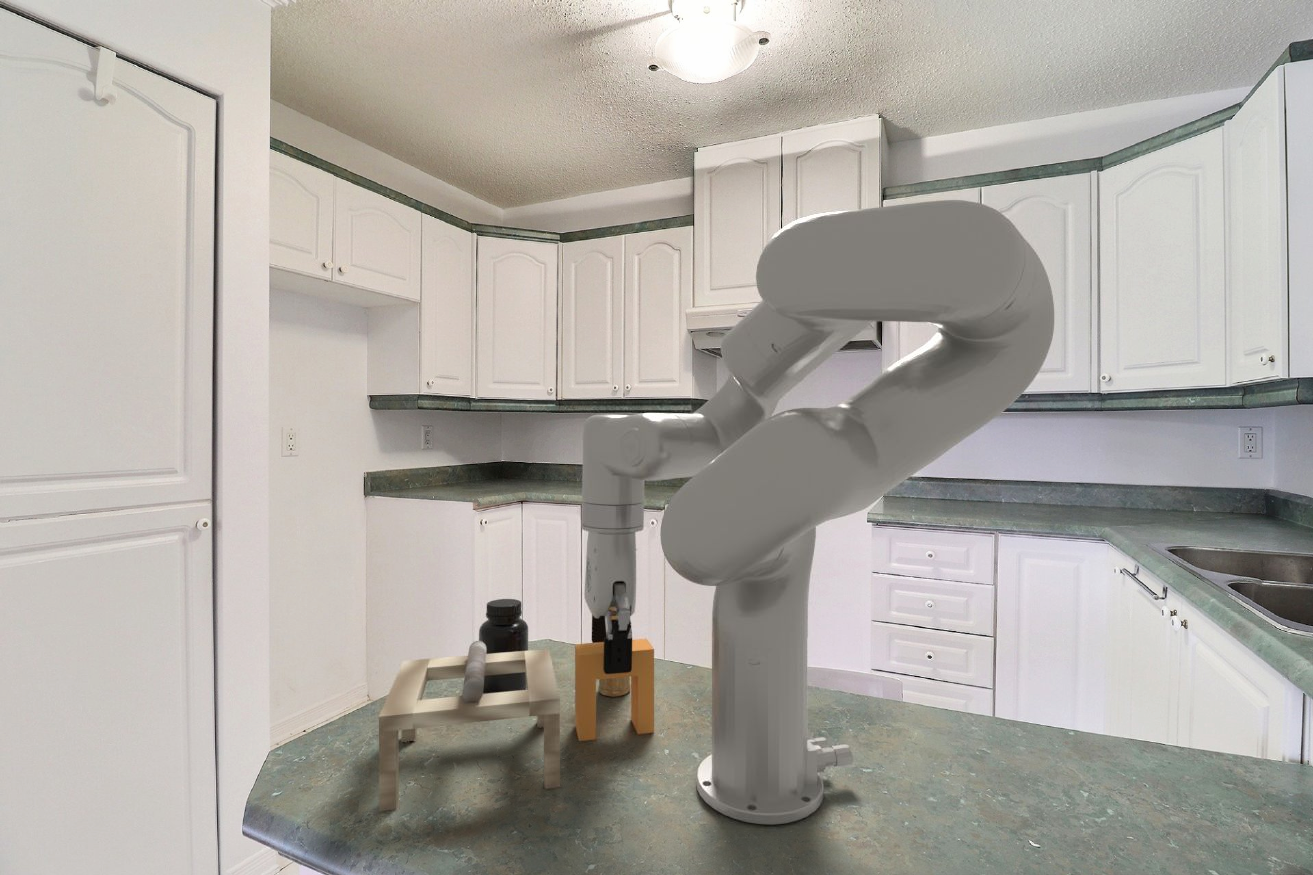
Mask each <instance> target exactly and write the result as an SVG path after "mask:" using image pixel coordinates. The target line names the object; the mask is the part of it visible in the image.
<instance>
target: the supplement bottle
mask: <svg viewBox="0 0 1313 875" xmlns="http://www.w3.org/2000/svg"><path fill="white" fill-rule="evenodd" d="M522 615H523V612H522V601H521V600H518V599H515V598H500V599H499V598H498V599H494V600H490V601H488V602H487V603H486V613H485V617H486V618H487V620H486V621H484V622H483V623H482V624H481V626H480V627H479V629H478V641H482V642H483V643H485V645H486V654H493V653H505V652H517V651H529V626H528V623H527V622H526V621H525V620H524V619H523V618H521V617H522ZM525 688H527V684H526V674H525V672H520V673H509V674H498V675H487V676H484V687H483V694H488V693H499V692H509V691H519V690H525Z"/></svg>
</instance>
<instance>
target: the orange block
mask: <svg viewBox="0 0 1313 875" xmlns="http://www.w3.org/2000/svg"><path fill="white" fill-rule="evenodd" d="M603 662H604V642H597V643H592V642H588V643H587V642H586V643H576V644H574V714H575V715H574V721H575V722H574V726H575V730H576V734H577V738H578V742H582V741H583V742H585V741H592V740H597V680H598V681H599V679H608V678H619V677H629V676H630V720H631V722H632V724H633V726H634V729H635V731H636V734H637V735H644V734H645V735H646V734H650V733H651V734H652V733H653V734H654V733H655V648H654V647H653V645H652V643H650V641H649V639H648V638H635V639H632V670H631V672H628V673H616V674H605V673H604V670H603Z"/></svg>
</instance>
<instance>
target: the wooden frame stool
mask: <svg viewBox="0 0 1313 875" xmlns="http://www.w3.org/2000/svg"><path fill="white" fill-rule="evenodd" d="M467 654H468V655H457V656H445V657H434V658H424V659H423V658H422V659H411V660H410V659H407V660H402V662H401V665H400V668H399V669H398V672H397V674H396V676H395V679H394V682H393V684H392V686H391V688H390V689H389V690H390V691H389V693H388V695H387V697H386V699H385V702H384V703H383V706H382V709H381V711H380V713H379V715H378V809H379V810H378V811H379V812H385V811H391V810H392V811H393V810H397V808H398V804H399V800H400V799H399V798H400V797H399V796H400V795H399V794H400V793H399V792H400V791H399V790H400V789H399V787H400V786H399V785H400V784H399V783H400V781H399V778H400V777H399V774H400V773H399V767H400V766H399V731H401V743H402V742H405V743H410V742H409V741H414V740H417V737H418V729H425V728H432V727H443V726H452V725H463V724H472V723H481V722H492V721H499V720H500V721H501V720H508V719H519V718H527V717H528V718H529V717H536V725H537V726H536V727H537V729H538V728H543V783H544V784H543V785H544V790H549V789H556V788H560V787H561V772H560V771H561V768H560V767H561V755H560V754H561V751H560V750H561V749H560V747H561V742H560V740H561V736H560V735H561V724H560V722H561V720H560V718H561V715H560V713H561V712H560V710H561V707H560V706H561V702H560V700H561V698H560V694H559V689H558V684H557V679H556V675H555V671H554V664H553V661H552V656H551V651H550V649H549V648H545V649H534V650H533V649H532V650H530V649H528V651H517V652H505V653H493V654H486V645H485V643H483V642H482V641H479V640H475V641H473V642H472V643H471V644H470V645H469V649H468V653H467ZM520 672H525V674H526V684H527V686H526V689H523V690H519V691H509V692H499V693H488V694H484V693H483V687H484V676H487V675H498V674H509V673H520ZM461 678H462V679H463V678H464V679H463V686H462V692H461V695H457V696H448V697H439V698H428V699H427V698H426V699H423V696H424V693H425V688H426V686H427V683H428V681H429V682H431V681H442V680H451V679H461ZM407 741H408V742H407ZM414 742H415V741H414Z"/></svg>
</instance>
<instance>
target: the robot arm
mask: <svg viewBox="0 0 1313 875" xmlns="http://www.w3.org/2000/svg"><path fill="white" fill-rule="evenodd" d="M757 262H758V263H757V264H756V265H757V266H756V272H755V274H756V275H755V282H756V288H757V291H758V294H759V296H760V298H761V299H762V300H760V301H759V302H758V303H757V304H756V305H755V306H754V307H753V308H752V309H751V310H749V312H748V313H747V314H746V315H745V316H744V317H743V318H742V319H741V320H740V321H739V322H738V323H737V324H735V325H734V326H733V327H732V328H731V329H730V330H729V331H728V332H727V333H725V334H724V336H723V338H722V340H721V344H720V355H721V358H722V361H723V363H724V365H725V368H726V369H727V371H728V373H729V375H728V376H727V379H726V381H725V382H724V384H723V385H722V387H721V388H720V389H719V390H718V391H717V392H716V393H715V394H714V395H713V396H712V397H711V398H710V399H708V400H707V401H706V402H705V403H703V405H701V407H699V408H698V409H696V411H694V412H693V413H669V412H668V413H667V412H661V413H660V412H644V413H637V414H632V415H631V414H630V415H629V414H628V415H627V414H593V415H591V416H589V417H587V418H586V420H585V421H584V424H583V427H582V428H583V430H582V431H583V433H582V475H581V476H582V479H581V480H582V481H581V485H582V486H581V488H582V489H581V529H582V531H586V532H587V533H588V534H587V541H586V556H585V557H586V559H585V560H586V561H585V578H584V600H585V603H586V605H587V607H588V610H589V611H590V613H591V643H597V642H604V662H603V670H604V673H605V674H616V673H628V672H631V670H632V640H633V630H632V621H631V616H633V614H635V613H636V612H635V611H636V604H637V603H636V601H637V600H636V599H637V547H636V546H637V544H636V542H637V541H636V540H637V538H636V533H637V532H641V531H644V529H645V528H644V526H645V523H644V521H645V519H644V518H645V481H646V482H647V481H648V482H655V481H656V482H657V481H664V480H673V479H681V478H682V479H683V478H690V479H689V480H688V481H687V482H685V483H684V484H683V485H682V486H681V487H680V488H679V489H678V490H677V492H675V494H674V495H673V496H672V497H671V499H670V501H669V503H668V504H667V505H666V508H665V510H664V512H663V516H662V519H661V524H660V532H659V533H660V543H661V544H660V545H661V549H662V553H663V555H664V556H665V560H666V561H667V563H668V564H669V566H670V567H671V568H672V569H673V570H674V571H675V572H676V573H677V574H678V575H679V576H681V577H682V578H684V579H685V580H687V581H688V582H691V583H694V584H696V585H700V586H706V587H715V590H714V595H713V601H712V610H711V754H710V755H708V756H707V757H705V758H704V759H703V760H702V761H701V762H700V764H699V765H698V767H697V769H696V778H695V779H696V780H695V781H696V782H695V783H696V789H697V791H698V794H699V796H700V797H701V798H702V800H703V801H704V802H705V803H706V804H707V805H709V806H710V807H711V808H712V809H714V810H715V811H717V812H719V813H721V814H722V815H724V816H727V817H728V818H732V819H734V820H738V821H741V822H745V823H749V824H757V825H783V824H790V823H794V822H798V821H801V820H802V819H804V818H808V817H809V816H810V815H811V814H813V813H814V812H815V811H817V809H818V808H819V807H820V806H821V804H822V802H823V800H824V780H823V779H822V776H821V774H820V773H823V772H825V770H826V768H830V767H834V768H836V767H842V766H849V765H852V764H853V760H854V759H853V758H854V757H853V754H852V753H853V752H852V750H851V747H850V746H849V745H848V744H846V743H844V744H837V745H836V744H835V745H829V743H828V740H827V738H826V737H825V736H821V737H813V738H810V739H809V738H808V637H809V636H808V635H809V634H808V633H809V630H808V629H809V626H808V625H809V624H808V623H809V622H808V620H809V592H810V582H811V581H810V580H811V573H812V568H813V560H814V553H815V548H816V538H817V527H818V526H820V525H821V524H823V523H825V522H828V521H831V520H835V519H839V518H843V517H846V516H850V515H853V514H856V513H858V512H861V511H864V510H865V509H867V508H869V507H870V506H872V505H873V504H874V503H876V502H877V501H878V500H879V499H881V498H882V497H884V495H886V494H888V492H890V491H892V490H893V489H894V488H895V487H897V486H898V485H900V484H902V483H903V482H904V481H906V480H907V479H909V478H910V477H912V476H914V475H915V474H917V473H918V472H919V471H921V470H922V469H924V468H925V467H927V466H928V465H930V464H931V463H933V462H934V461H936V460H938V459H939V458H940V457H941V456H943V455H944V454H946V453H947V452H949V450H951V449H952V448H954V447H955V446H957V445H958V444H959V443H961V442H963V441H964V440H966V438H968V437H969V436H971V435H973V434H975V433H976V432H978V431H979V430H980V429H982V428H983V427H984V426H986V425H988V423H990V422H991V421H993V420H994V419H995V418H996V417H997V418H998V416H999V415H1001V414H1002V413H1003V412H1004V411H1006V410H1007V409H1008V408H1009V407H1010V406H1011V405H1013V403H1014V402H1016V401H1017V400H1018V398H1019V397H1021V396H1022V394H1023V393H1024V392H1025V391H1026V390H1027V389H1028V388H1029V386H1030V385H1031V384H1032V382H1033V381H1035V380H1034V379H1035V378H1036V377H1037V375H1038V374H1039V372H1040V371H1041V368H1042V366H1043V365H1044V363H1045V361H1046V358H1047V356H1048V354H1049V351H1050V348H1051V345H1052V342H1053V337H1054V329H1055V305H1054V304H1055V303H1054V296H1053V290H1052V287H1051V282H1050V280H1049V277H1048V273H1047V270H1046V269H1045V266H1044V263H1043V262H1042V260H1041V258H1040V257H1039V255H1038V254H1037V252H1036V251H1035V249H1034V248H1033V247H1032V245H1031V244H1030V243H1029V242H1028V241H1027V240H1026V238H1024V236H1023V235H1022V233H1021V232H1020V231H1019V230H1018V228H1017V227H1016V225H1015V224H1014V223H1013V222H1012V221H1011V220H1010V219H1009V218H1008V217H1007V216H1005V215H1004V214H1002V213H1001V212H1000V211H999V210H997V209H995V208H993V207H991V206H988V205H986V204H984V203H981V202H977V201H969V200H963V199H962V200H961V199H946V200H945V199H944V200H941V199H940V200H929V201H921V202H913V203H903V204H897V205H895V204H894V205H887V206H878V207H867V208H859V209H851V210H850V209H849V210H841V211H840V210H839V211H833V212H826V213H825V212H824V213H818V214H813V215H810V216H807V217H806V216H805V217H802V218H799V219H796V220H795V221H792V222H791V223H789V224H787V225H786V226H784V227H783V228H781V229H780V230H779V231H778V232H776V233H775V234H774V235H773V236H772V237H771V239H770V240H769V241H768V242H767V244H766V245H765V247H764V249H763V250H762V252H761V255H760V256H759V258H758V261H757ZM873 322H900V323H901V322H903V323H904V322H905V323H925V324H931V325H933V326H935V327H937V328H938V329H937V331H936V333H935V334H934V335H933V336H932V338H931V339H930V340H929V341H927V342H926V343H925V344H924V345H923V346H921V347H919V348H917V349H916V350H915V351H913V352H910V354H908V355H906V356H905V357H903V358H901V359H900V360H898V361H896V362H895V363H893V364H892V365H891V366H889V367H888V368H887V369H885V370H884V371H883V372H881V373H880V374H879V375H878V376H877V377H875V379H874V380H872V381H871V382H870V383H868V384H867V385H865V386H864V387H863V388H861V389H859V391H857V392H856V393H854V394H853V395H852V396H850V397H849V398H847V399H846V400H845V401H842V402H841V403H839V404H838V405H835V406H831V407H825V408H822V407H800V408H799V407H798V408H792V409H791V408H790V409H788V410H784V411H781V412H779V413H776V414H774V412H775V411H776V408H777V405H778V403H779V402H780V400H781V399H782V398H783V397H784V396H785V395H786V394H787V393H789V392H790V391H791V390H793V388H795V387H796V386H797V385H799V383H801V382H802V381H803V380H804V379H805V378H807V376H809V375H810V374H811V373H812V372H814V371H815V370H816V369H817V368H818V367H819V366H821V365H822V364H823V363H825V362H826V361H827V360H828V359H829V358H830V357H831V356H833V355H834V354H836V353H837V352H838V351H840V350H841V349H842V348H844V346H846V345H847V344H848V343H849V342H850V341H852V340H853V339H854V338H856V336H858V335H859V334H860V333H861V332H863V331H864V330H865V329H866V328H868V327H869V326H870V325H871V324H872V323H873ZM773 414H774V415H773ZM616 609H617V611H611V610H616Z"/></svg>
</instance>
